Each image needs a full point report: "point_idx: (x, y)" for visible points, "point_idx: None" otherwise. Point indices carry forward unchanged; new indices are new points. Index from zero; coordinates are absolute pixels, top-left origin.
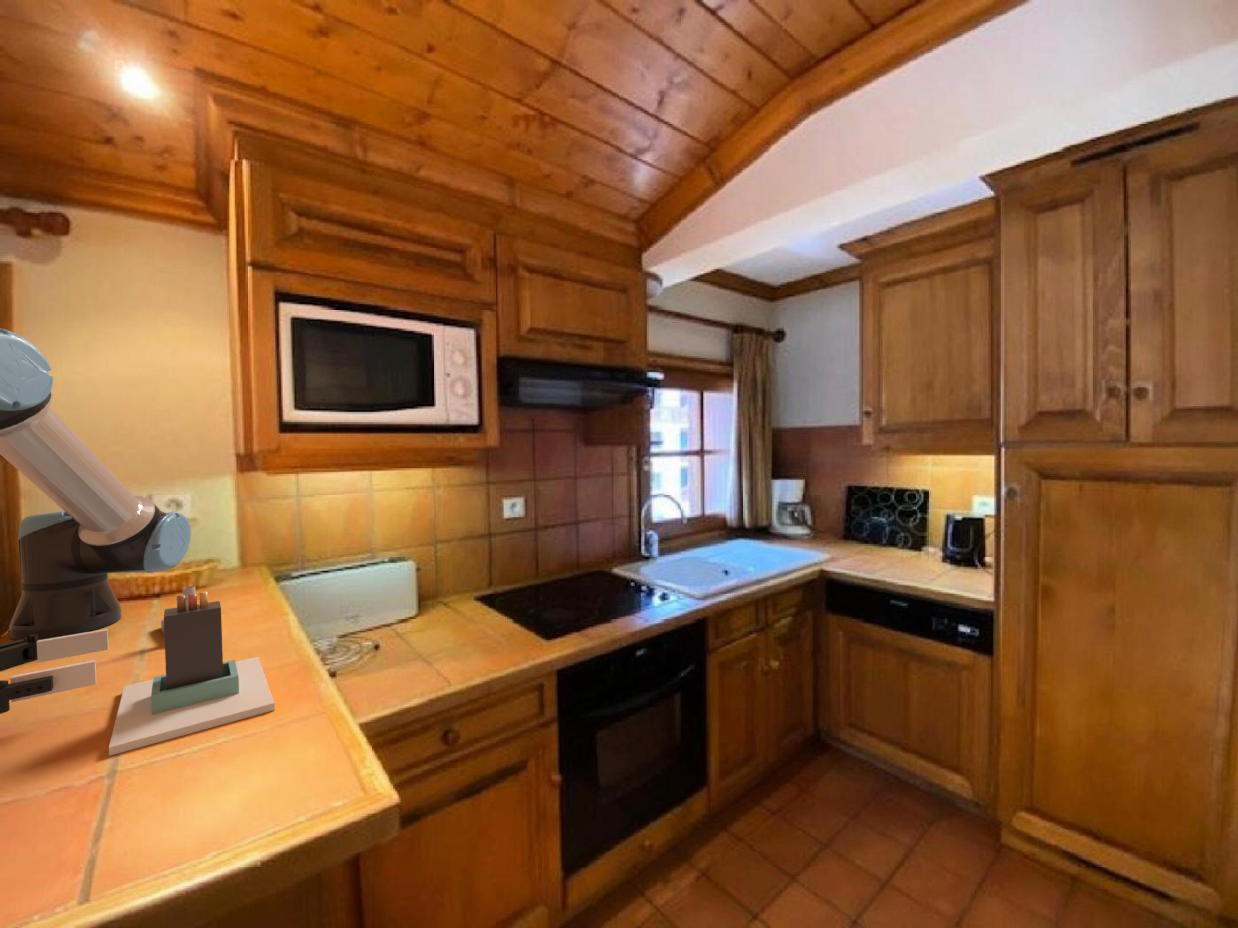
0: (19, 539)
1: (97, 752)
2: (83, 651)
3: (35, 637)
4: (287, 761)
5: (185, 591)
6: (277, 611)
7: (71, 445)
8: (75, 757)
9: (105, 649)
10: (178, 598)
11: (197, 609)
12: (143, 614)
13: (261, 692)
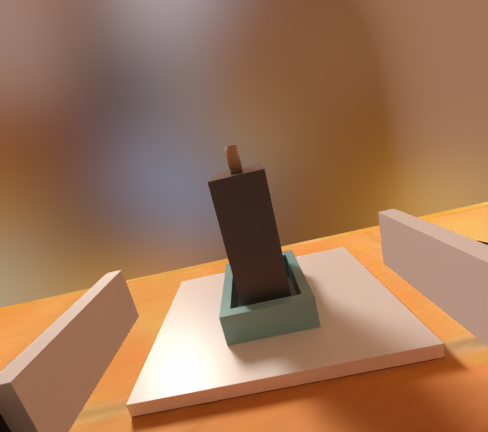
0: None
1: (425, 379)
2: (116, 341)
3: None
4: (470, 229)
5: None
6: (6, 308)
7: None
8: (444, 411)
9: (136, 317)
10: (235, 148)
11: (248, 168)
12: None
13: (307, 258)
